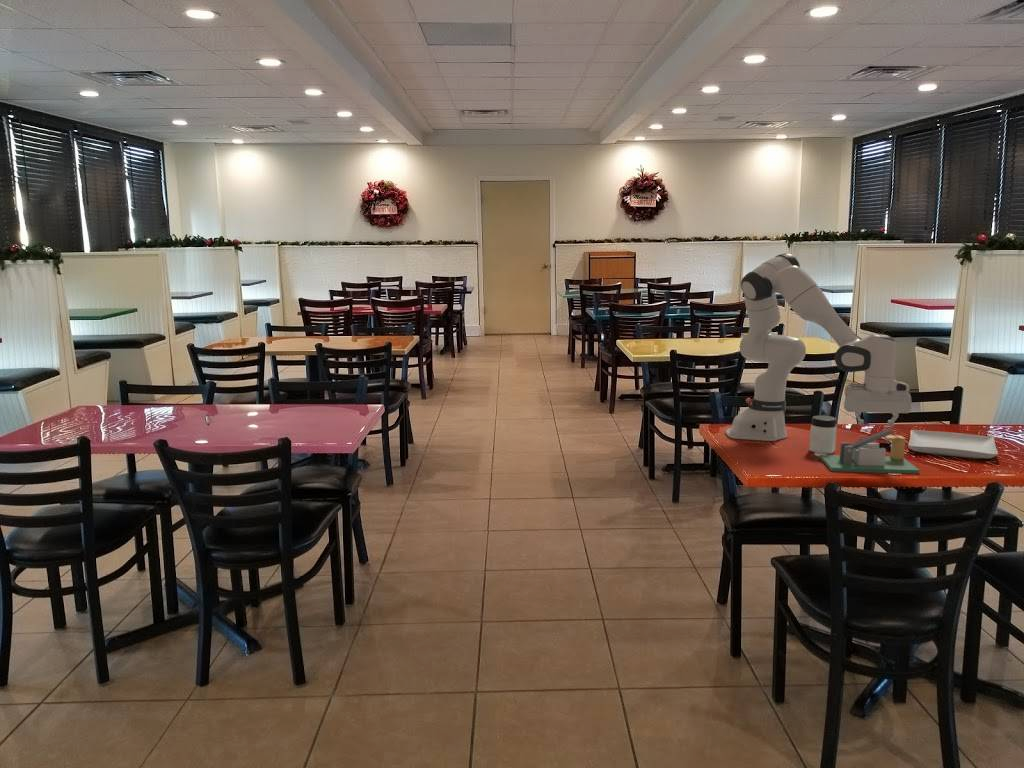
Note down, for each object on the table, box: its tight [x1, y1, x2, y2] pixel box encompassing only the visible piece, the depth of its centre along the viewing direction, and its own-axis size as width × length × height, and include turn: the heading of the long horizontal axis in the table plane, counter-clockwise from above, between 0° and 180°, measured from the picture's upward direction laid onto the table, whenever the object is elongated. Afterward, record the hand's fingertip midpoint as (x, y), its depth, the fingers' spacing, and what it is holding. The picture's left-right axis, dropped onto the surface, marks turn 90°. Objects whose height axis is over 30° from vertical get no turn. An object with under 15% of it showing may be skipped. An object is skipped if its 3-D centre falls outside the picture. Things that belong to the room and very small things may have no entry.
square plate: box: [908, 429, 999, 460], centre depth 284 cm, size 27×27×4 cm
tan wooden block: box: [882, 434, 906, 460], centre depth 268 cm, size 6×4×7 cm
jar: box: [809, 415, 838, 455], centre depth 282 cm, size 9×8×12 cm
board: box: [818, 441, 921, 475], centre depth 263 cm, size 27×16×7 cm, turn 83°
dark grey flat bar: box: [842, 428, 894, 450], centre depth 262 cm, size 16×3×1 cm, turn 83°
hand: (875, 425), depth 261 cm, fingers open, 8 cm apart
